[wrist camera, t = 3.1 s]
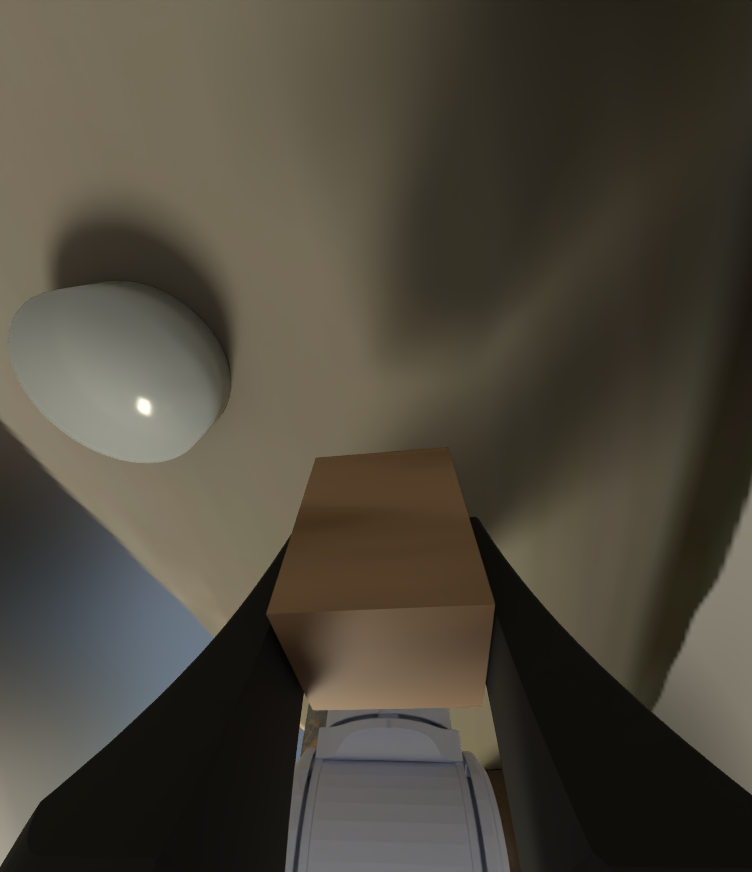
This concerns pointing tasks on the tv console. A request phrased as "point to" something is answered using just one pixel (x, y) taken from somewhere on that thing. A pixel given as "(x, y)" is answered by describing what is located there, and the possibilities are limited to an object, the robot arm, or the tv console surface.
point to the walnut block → (385, 586)
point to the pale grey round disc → (120, 368)
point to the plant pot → (505, 817)
